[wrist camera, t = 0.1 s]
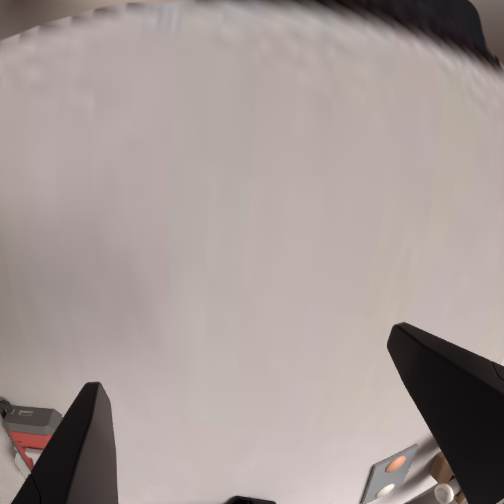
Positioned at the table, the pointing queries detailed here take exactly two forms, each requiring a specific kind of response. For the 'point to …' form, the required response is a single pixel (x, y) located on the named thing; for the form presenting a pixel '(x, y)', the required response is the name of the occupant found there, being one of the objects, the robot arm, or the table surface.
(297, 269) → the table surface
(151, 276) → the table surface
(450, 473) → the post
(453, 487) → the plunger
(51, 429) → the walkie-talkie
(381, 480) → the card
